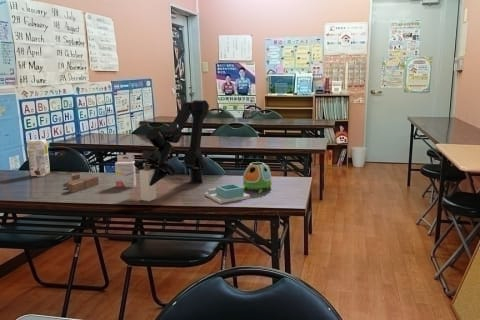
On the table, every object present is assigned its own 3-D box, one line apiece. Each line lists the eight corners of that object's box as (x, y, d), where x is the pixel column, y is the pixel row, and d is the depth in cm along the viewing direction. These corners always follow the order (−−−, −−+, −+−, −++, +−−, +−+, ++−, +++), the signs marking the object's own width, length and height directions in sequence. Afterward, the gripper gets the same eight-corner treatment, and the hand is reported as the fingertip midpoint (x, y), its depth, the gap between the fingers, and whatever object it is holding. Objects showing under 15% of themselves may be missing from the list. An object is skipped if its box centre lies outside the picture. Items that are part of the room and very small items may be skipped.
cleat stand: (205, 195, 187) (204, 184, 186) (233, 190, 193) (233, 180, 193) (220, 203, 175) (219, 191, 174) (250, 197, 182) (249, 187, 181)
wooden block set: (99, 173, 209) (71, 182, 193) (100, 185, 210) (72, 194, 194) (72, 170, 216) (43, 178, 200) (73, 182, 217) (44, 190, 201)
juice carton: (45, 176, 228) (41, 140, 224) (29, 177, 228) (25, 141, 224) (51, 173, 235) (48, 138, 231) (36, 173, 235) (32, 139, 232)
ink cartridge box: (115, 187, 202) (113, 156, 199) (118, 185, 207) (116, 154, 204) (134, 187, 202) (132, 156, 200) (136, 184, 207) (134, 154, 204)
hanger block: (148, 197, 185) (146, 164, 183) (156, 198, 183) (154, 165, 181) (141, 199, 182) (139, 166, 179) (149, 201, 180) (147, 167, 177)
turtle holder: (280, 185, 202) (280, 160, 199) (262, 194, 186) (262, 167, 184) (256, 182, 208) (256, 158, 206) (237, 191, 192) (237, 165, 190)
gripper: (135, 141, 186) (118, 171, 179) (169, 144, 177) (152, 176, 170) (148, 156, 194) (132, 186, 187) (182, 159, 185) (166, 191, 178)
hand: (145, 184), depth 180 cm, fingers open, 5 cm apart
